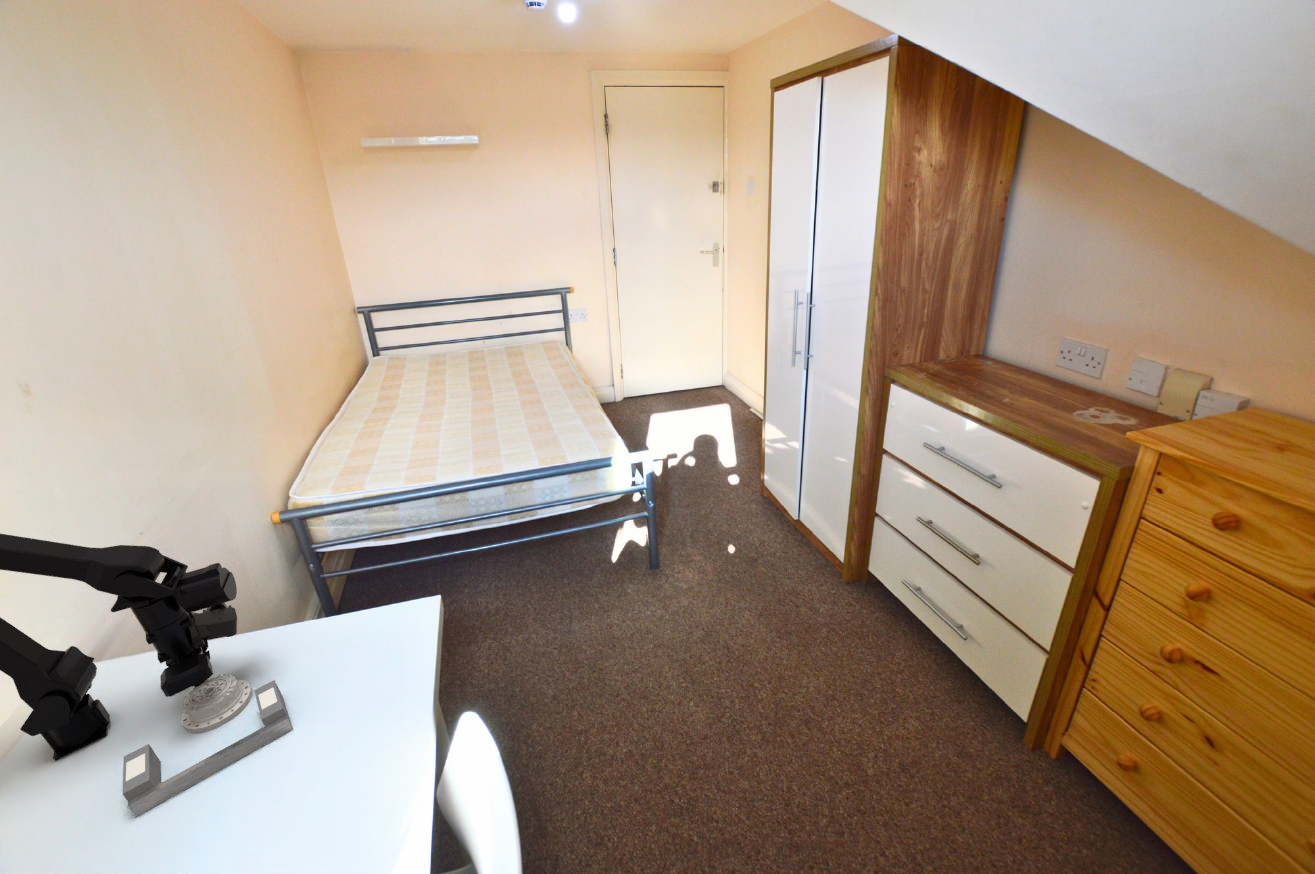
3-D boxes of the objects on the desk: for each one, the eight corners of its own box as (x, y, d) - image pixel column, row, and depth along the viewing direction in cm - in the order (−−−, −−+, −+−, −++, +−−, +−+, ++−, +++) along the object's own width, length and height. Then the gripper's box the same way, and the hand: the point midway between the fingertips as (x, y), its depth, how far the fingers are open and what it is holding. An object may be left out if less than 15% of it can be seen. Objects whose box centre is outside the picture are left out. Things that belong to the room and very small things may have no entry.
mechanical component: (169, 736, 94) (226, 733, 93) (157, 717, 92) (215, 714, 91) (213, 686, 103) (266, 684, 102) (203, 668, 101) (256, 665, 100)
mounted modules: (135, 811, 82) (121, 793, 80) (136, 773, 87) (123, 755, 86) (291, 725, 93) (282, 707, 91) (282, 696, 99) (273, 678, 97)
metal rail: (135, 817, 81) (127, 805, 80) (135, 811, 82) (127, 800, 81) (292, 729, 92) (287, 718, 91) (291, 725, 93) (286, 714, 92)
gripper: (228, 620, 92) (265, 690, 98) (217, 571, 105) (250, 635, 112) (141, 659, 85) (187, 730, 92) (140, 601, 99) (180, 667, 105)
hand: (205, 686), depth 100 cm, fingers closed
